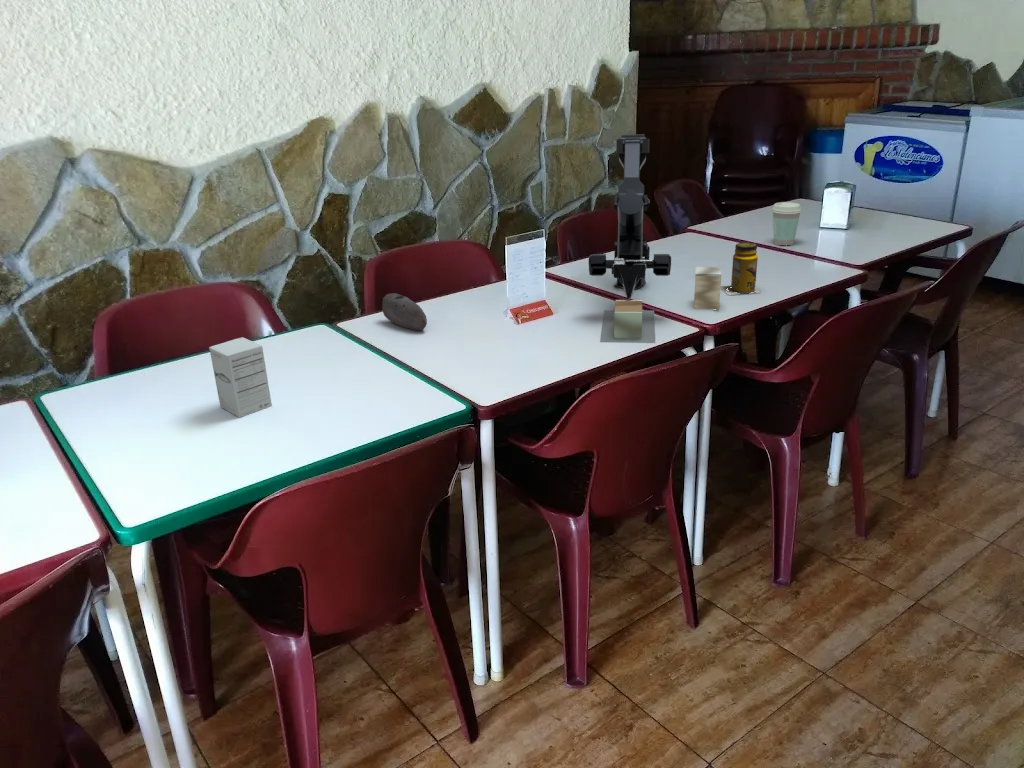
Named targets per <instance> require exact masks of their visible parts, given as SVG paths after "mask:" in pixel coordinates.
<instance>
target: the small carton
mask: <svg viewBox="0 0 1024 768" xmlns="http://www.w3.org/2000/svg"><path fill="white" fill-rule="evenodd" d="M614 310H615V313H614V338H633V339H642V311H643V299H615V303H614Z"/></svg>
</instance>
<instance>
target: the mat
mask: <svg viewBox="0 0 1024 768" xmlns="http://www.w3.org/2000/svg"><path fill="white" fill-rule="evenodd" d="M614 313H615V309H607V310H604V309H603V316H602V324H601V331H600V332H601V333H600V340H599V342H600V343H622V344H623V343H629V344H631V343H632V344H633V343H637V344H644V343H645V344H656V330H655V329H656V325H655V310H642V339H633V338H614Z"/></svg>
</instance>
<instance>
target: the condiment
mask: <svg viewBox="0 0 1024 768" xmlns="http://www.w3.org/2000/svg"><path fill="white" fill-rule="evenodd" d="M757 248H758V246H757V244H756V243H754V242H746V241H745V242H738V243H736V244H735V249H734V254H733V255H732V267H731V270H732V271H731V280H730V281H731V283H730V284H731V285H721V288H720V290H721V291H723V292H724V293H726V294H727V295H728V296H731V295H741V294H740V293H749V294H752V293H751V292H755V291H756V293H755V294H759V293H761V291H759V290H758V289H757V288H756V283H757V268H758V259H759V258H758V254H757ZM730 287H732V288H730ZM727 288H728V290H729V291H727V290H726V289H727ZM726 291H727V292H726ZM734 292H737V293H734Z"/></svg>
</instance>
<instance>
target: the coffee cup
mask: <svg viewBox="0 0 1024 768" xmlns="http://www.w3.org/2000/svg"><path fill="white" fill-rule="evenodd" d="M772 206H773V207H772V208H771V212H772V228H773V230H772V232H773V244H774V245H775V244H776V245H775V246H778V245H786V246H785V247H788V246H787V245H791V246H793V245H794V244H795V239H796V235H797V230H798V225H799V221H800V215H801V213H802V207H801V204H800V203H798V202H792V201H781V202H776V203H774V204H773V205H772Z"/></svg>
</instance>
